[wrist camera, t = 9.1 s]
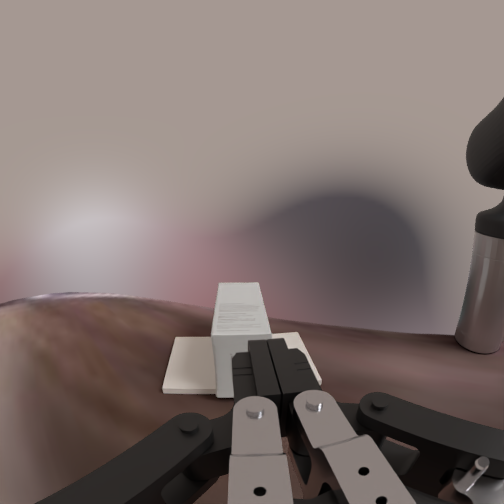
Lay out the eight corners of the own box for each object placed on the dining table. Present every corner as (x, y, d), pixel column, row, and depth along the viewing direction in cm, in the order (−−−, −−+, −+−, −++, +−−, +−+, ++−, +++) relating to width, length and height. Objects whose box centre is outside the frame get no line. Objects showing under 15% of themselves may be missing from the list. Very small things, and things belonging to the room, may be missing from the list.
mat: (297, 336, 42) (297, 332, 42) (320, 385, 30) (321, 379, 30) (176, 341, 40) (175, 336, 40) (163, 393, 28) (162, 388, 28)
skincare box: (215, 399, 27) (217, 335, 41) (273, 397, 27) (258, 334, 42) (210, 330, 25) (215, 281, 40) (276, 328, 26) (259, 280, 40)
